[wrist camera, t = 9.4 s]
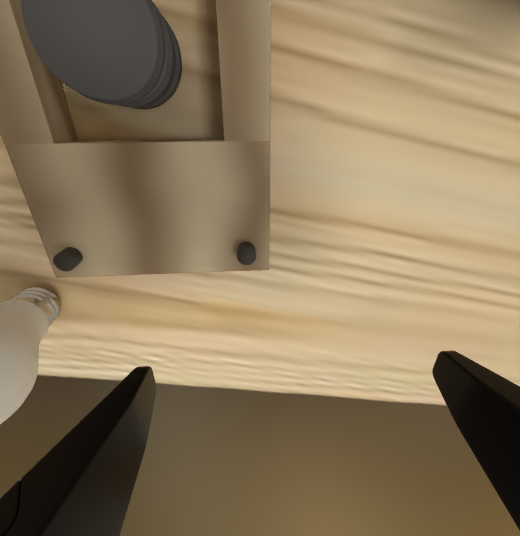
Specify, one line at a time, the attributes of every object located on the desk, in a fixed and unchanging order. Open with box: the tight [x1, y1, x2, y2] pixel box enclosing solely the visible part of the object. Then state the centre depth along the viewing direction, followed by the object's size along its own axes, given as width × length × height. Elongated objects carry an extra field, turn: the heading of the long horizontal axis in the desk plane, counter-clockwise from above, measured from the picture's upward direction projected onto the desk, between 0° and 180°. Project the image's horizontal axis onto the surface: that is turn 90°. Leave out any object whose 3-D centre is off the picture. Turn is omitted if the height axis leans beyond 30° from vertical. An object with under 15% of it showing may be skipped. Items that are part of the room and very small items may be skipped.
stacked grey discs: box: [21, 0, 182, 109], centre depth 13 cm, size 5×5×6 cm
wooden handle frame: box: [0, 0, 271, 277], centre depth 15 cm, size 14×16×4 cm
